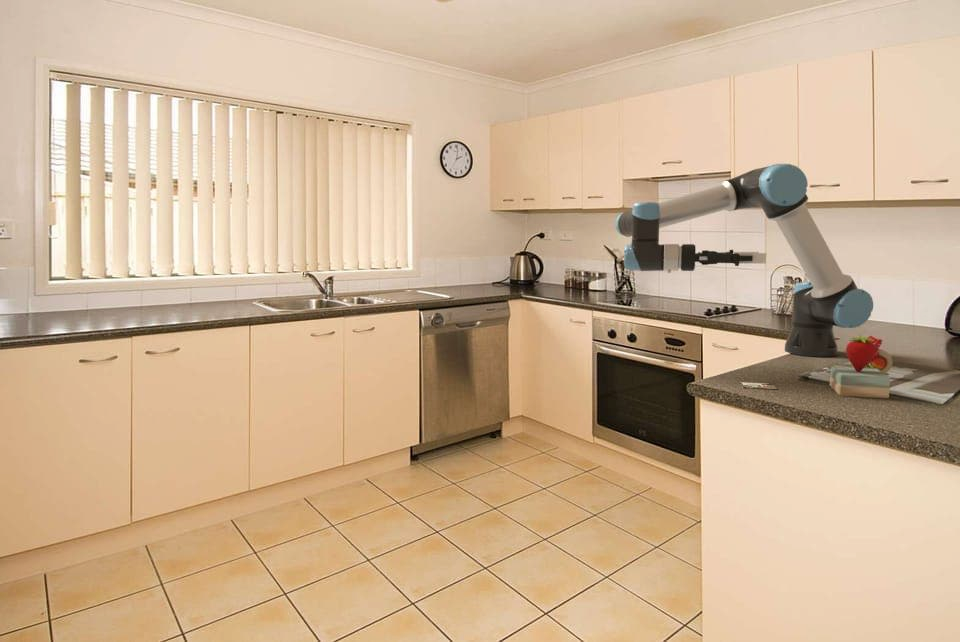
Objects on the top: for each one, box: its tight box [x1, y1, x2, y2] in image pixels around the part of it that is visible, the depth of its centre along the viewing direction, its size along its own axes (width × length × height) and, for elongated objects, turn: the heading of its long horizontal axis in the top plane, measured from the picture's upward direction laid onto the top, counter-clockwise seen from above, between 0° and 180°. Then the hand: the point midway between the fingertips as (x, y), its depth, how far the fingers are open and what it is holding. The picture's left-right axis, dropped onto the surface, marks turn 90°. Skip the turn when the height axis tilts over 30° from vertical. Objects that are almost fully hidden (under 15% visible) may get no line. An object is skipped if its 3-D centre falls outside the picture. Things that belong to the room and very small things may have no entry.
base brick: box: [829, 366, 891, 399], centre depth 148 cm, size 10×10×5 cm
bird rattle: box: [850, 335, 893, 374], centre depth 164 cm, size 6×11×9 cm
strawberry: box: [845, 330, 876, 372], centre depth 147 cm, size 6×8×10 cm
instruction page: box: [740, 381, 767, 387], centre depth 154 cm, size 6×8×1 cm
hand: (762, 257), depth 167 cm, fingers open, 13 cm apart
